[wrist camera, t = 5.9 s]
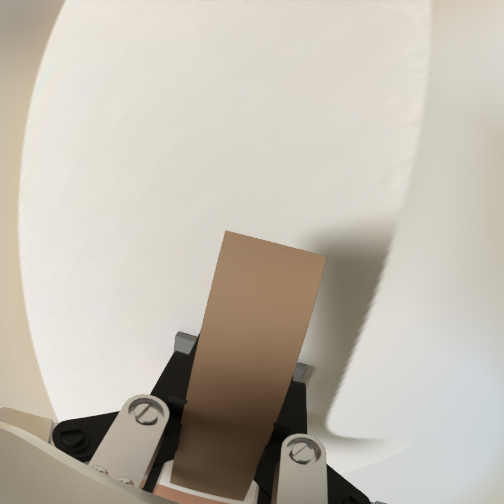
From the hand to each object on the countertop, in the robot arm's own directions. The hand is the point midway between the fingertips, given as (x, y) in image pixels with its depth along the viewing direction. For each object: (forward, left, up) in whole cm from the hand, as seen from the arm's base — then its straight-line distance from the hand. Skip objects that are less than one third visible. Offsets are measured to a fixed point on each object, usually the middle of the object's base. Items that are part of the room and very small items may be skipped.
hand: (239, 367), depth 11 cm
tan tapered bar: (+2, 0, 0) cm, 2 cm away
